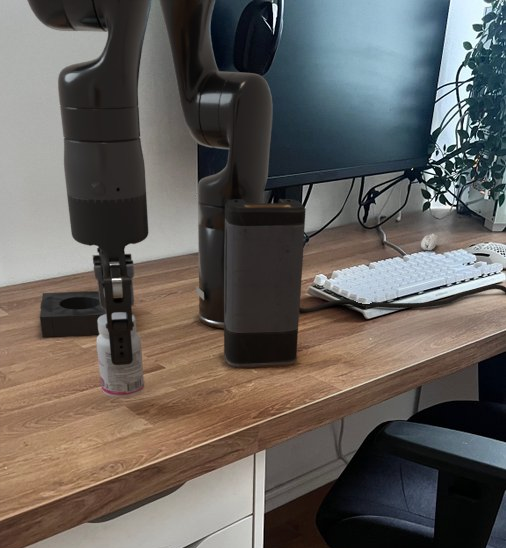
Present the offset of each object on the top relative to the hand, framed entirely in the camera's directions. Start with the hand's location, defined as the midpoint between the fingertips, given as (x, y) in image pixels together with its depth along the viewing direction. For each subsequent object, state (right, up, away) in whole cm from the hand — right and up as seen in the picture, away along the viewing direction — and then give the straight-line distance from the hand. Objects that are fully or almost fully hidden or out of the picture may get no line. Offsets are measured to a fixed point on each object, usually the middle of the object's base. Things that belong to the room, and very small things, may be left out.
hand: (120, 352), depth 75 cm
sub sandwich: (+52, +32, +73) cm, 95 cm away
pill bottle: (0, -4, +2) cm, 5 cm away
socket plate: (-11, +8, +28) cm, 31 cm away
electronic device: (+15, +1, +17) cm, 23 cm away
